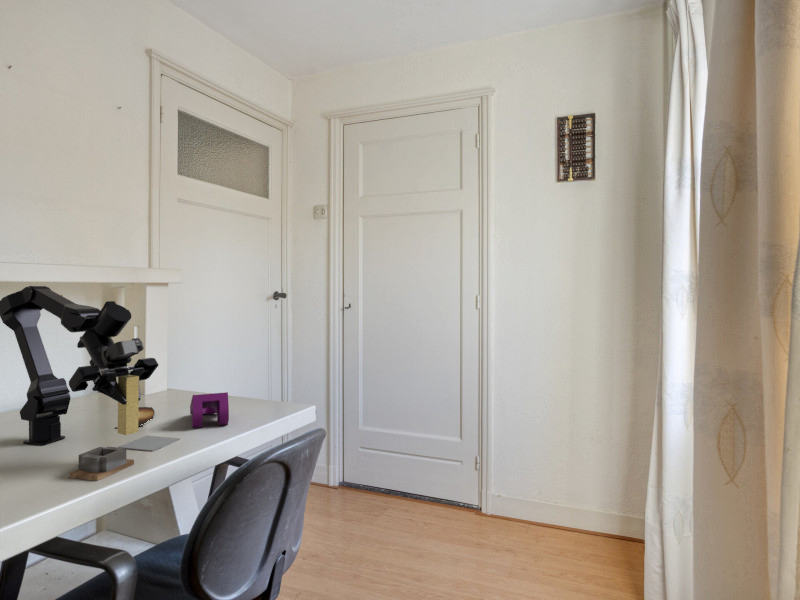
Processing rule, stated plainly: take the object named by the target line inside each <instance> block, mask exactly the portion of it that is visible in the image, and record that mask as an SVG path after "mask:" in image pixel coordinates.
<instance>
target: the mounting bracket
mask: <svg viewBox="0 0 800 600" xmlns="http://www.w3.org/2000/svg"><path fill="white" fill-rule="evenodd" d="M228 393H229V392H215V393H204V394H193V395H192V397H191V401H190V405H189V410H190V411H189V413H190V415H191V428H192V427H193V428H192V429H199V428H200V429H201V428H202V427H203V417H204V416H205V415H204V414H208V415H215V414H214V413H216V417H217V419H216V420H217V424H219V425H218V426H226V425H229V419H230V417H229V416H230V415H229V414H230V412H229V410H230V409H229V407H230V406H229V394H228Z"/></svg>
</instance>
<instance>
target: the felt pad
mask: <svg viewBox="0 0 800 600" xmlns="http://www.w3.org/2000/svg"><path fill="white" fill-rule="evenodd" d="M180 440H181V438H178V437H169V436H157V435H144V436H142V437H140V438H137V439H134V440H132V441H129V442H127V443H125V444H121V445H119V446H118V448H123V449H125V450H132V451H133V450H135V451H142V450H143V451H144V452H152V451H153V452H155V451H158V450H160V449H163V448H164V447H167V446H169V445H171V444H173V443H175V442H178V441H180ZM159 448H160V449H159ZM157 449H158V450H157ZM143 451H142V452H143Z"/></svg>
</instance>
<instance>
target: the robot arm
mask: <svg viewBox="0 0 800 600" xmlns="http://www.w3.org/2000/svg"><path fill="white" fill-rule="evenodd" d="M43 310H45V311H46V312H48V313H50V314H52V315H54V317H57V318H59V319H60V325H62V326H63V327H64V328H65V329H66V330H67V331H68V332H70V333H83V334H82V336H79V340H78V342H77V345H76V347H77V349H82V348H85V349H86V351H87V353H88V355H89V357H90V358H91V359H90V360H89V364H90V365H84V366H83V365H82V366H78V367H77V368H76V370H75V371H74V373H73V375H72V376H71V377H70V378H69V381H68V384H67V381H66V379H65V378H64V377H61V378H58V377H57V376H55V374H54V373H53V370H52V366H51V364H50V360H49V358H48V354H47V351H46V348H45V346H44V343H43V338H42V337H41V334H40V331H39V328H38V323H39V321H40V318H41V311H43ZM0 319H1V322H2V324H4V325H5V326H6V327H7V328H9V329H10V330H12V331H13V333H14V335H15V339H16V341H17V344H18V347H19V350H20V354H21V358H22V359H23V364H24V366H25V369H26V372H27V375H28V378H29V381H30V384H29V386H28V389H27V392H26V398H27V401H26V402H25V404H24V405H23V406H22V408H21V409H20V410H19V415H20V419H21V420H22V421H27V422H28V439H24V440H23V441H22V442H23V444H26V445H27V444H29V445H38V446H45V445H48V444H50V443H53V442H57V441H61V440H64V439H65V438H66V435H61V434H62V431H61V430H62V426H61V425H62V423H61V416H62V415H66V414H68V411H69V406H70V403H71V395H70V392H71V391H72V392H73V393H75V392H81V391H86V389H87V388H88V386H89V383H88V382H92V383H93V384H94V385H93V387H92V389H91V390H92V391H93V392H99V393H100V394H103V395H104V396H107V397H109V398H111V399H112V400H115V402H117V403H118V402H119V403H121V404H123V405H125V404H126V403H127V400H126V398H125V395H124V394H123V392H122V390H121V388H120V386H119V385H118V379H117V378H118V377H119V376H125V375H135V376H139V382H140V381H145V380H147V379H150V378H151V376H152V375H153V373H154V372H155V371H156V370H157V368H158V367H159V363H158V361H157V360H156V358H155V357H147V358H139V359H138V360H137V361H136V362H135V363H134V365H128V364H130V363H131V361H132V360H133V359H132V357H133V356H135V355H138V354H139V353H140V352H142V351H143V350H144V349H145V346H144V344H143V342H142V340H141V339H140V338H139V337H136V338H134V337H133V338H132V339H131V340H121V341H118V342H117V341H116V342H114V340H113V338H115V337H118V336H119V335H120V333H121V332H122V331H123V330H124V328H125V327H126V325H127V324H128V323H129V322H130V321H131V319H132V313H131V311H130V310H129V309H127V308H126V307H125V306H123V305H120V304H117V303H116V301H114V300H111V301H110V300H108V301H105V302H104V305H103V307H102V308H101V309H99V308H98V307H94V306H90V305H87V304H86V305H85V304H84V305H83V304H78V303H75V302H73V301H72V300H70V299H68V298H66V297H64V296H62V295H60V294H59V293H57V292H55V291H53V290H52V289H51V288H50V287H48V286H46V285H29V286H25V287H24V288H22V289H21V290H19V291H16V292H13V293H10V294H7V295H6V296H3V297H2V298H1V300H0ZM68 386H69V387H68ZM69 388H70V389H69ZM70 390H71V391H70ZM141 398H142V397H141V387H140V385H139V402H140V401H141V400H142V399H141Z"/></svg>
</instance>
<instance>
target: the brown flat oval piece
mask: <svg viewBox="0 0 800 600" xmlns="http://www.w3.org/2000/svg"><path fill="white" fill-rule="evenodd" d="M154 415H155V409H154V408H153V407H152V406H151V407H150V406H149V407H148V406H139V413H138V428H141V427H142V426H140V425H141V424H143V425H145V424H144V423H146V422H147V421H148V420H149V421H151V420H150V419H153V418H154ZM114 429H118V426H117V427H116V426H115V427H114Z"/></svg>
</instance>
